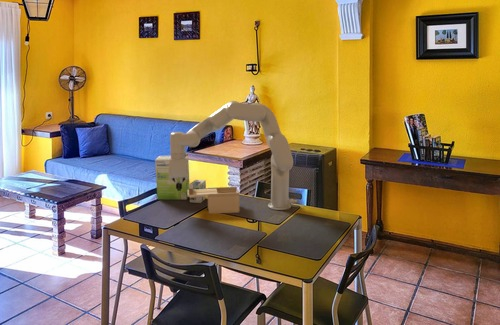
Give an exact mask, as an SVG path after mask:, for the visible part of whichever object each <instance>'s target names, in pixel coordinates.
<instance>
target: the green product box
mask: <svg viewBox="0 0 500 325" xmlns="http://www.w3.org/2000/svg"><path fill="white" fill-rule="evenodd" d="M170 158H171V155H159V156H157V157H156V158H155V159H154V163H155V179H156V195H157V200H188V199H189V197H188V195H187V190H189V184H190V178H189V179H187V180H184V181H183V182H182V189H181V191H178V190H177V189H176V183H175V182H174V181H173V180H169V179H168V177H169V159H170ZM186 158H187V161H188V172H189V173H188V175H189V176H190V167H189V165H190V163H189V155H188V156H186ZM177 180H178V183H179V181H180V178H177Z"/></svg>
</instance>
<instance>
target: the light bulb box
mask: <svg viewBox="0 0 500 325" xmlns="http://www.w3.org/2000/svg"><path fill="white" fill-rule="evenodd" d="M189 184H193V189H207V185H206V184H207V183H206V179H204V180H203V179H194V180H193V181H192V182H189ZM206 199H207V196H196V197H189V202H190V203H194V204H195V203H196V204H197V203H198V204H201V203H202V202H203V201H205V200H206Z"/></svg>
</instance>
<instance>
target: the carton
mask: <svg viewBox="0 0 500 325" xmlns="http://www.w3.org/2000/svg"><path fill="white" fill-rule="evenodd" d="M206 189H217V193H215V194H209V196H207V209H208V214H209V215H210V214H212V215H213V214H231V213H240V192H238V186H219V187H206Z"/></svg>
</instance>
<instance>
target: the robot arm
mask: <svg viewBox="0 0 500 325" xmlns="http://www.w3.org/2000/svg"><path fill="white" fill-rule="evenodd" d="M233 120H237V121H246V122H254V123H258V122H259V123H260V125H261V128H262V130H263V134H264V137H265V141H266V144H267V146H268V148H270V151H271V156H270V168H271V169H270V170H271V176H270V177H271V178H270V180H271V182H270V202H269V203H268V204H267V207H268V208H269V209H271V210H274V211H284V210H290V209H291V207H292V204H297V203H298V200H297V199H293V198H291V199H290V197H289V188H290V170H291V169H292V168H293V167H294V158H293V155H292V154H293V153H292V151H291V148H290V143H289V141H288V139H287V137H286V136H285V135H284V134H283V133H282V132H281V129H280V126H279V123H278V121H277V117H276V116H275V114H274V112H273V111H272V110H271V109H270V108H269V107H268V106H266V105H265V104H263V103H257V102H252V103H246V102H245V103H244V102H239V101H237V100H231V101H229V102H227V103H226V104H224V105H223V106H222V107H220V108H219V109H218V110H216V111H215V112H213V113H212V114H211V115H209V116H207V117H206V118H205V119H203V120H202V121H201V122H200V121H199V123H197V124H195V125H194V126H193V127H192V128H191V129H189V130H188V131H187V132H186V133H184V132H183V131H172V132H171V133H170V134H169V143H170V144H169V145H170V156H171V158H170V159H169V177H168V179H169V180H173V181H174V182H175V183H176V189H177V190H178V191H181V189H182V182H183V181H184V180H187V179H189V180H190V171H189V172H188V161H187V158H186V156H188V157H189V153H187V152H186V148H187V147H188V148H196V147H198V146H199V144H200V143H201V140H202V139H204V138H205V137H206V136H207V135H209V134H210V133H213V132H217V131H219V130H220V129H222V128H224V127H225V126H226V125H228V124H229V123H231V122H232V121H233ZM188 173H189V175H188ZM177 178H180V181H179V183H178V180H177Z"/></svg>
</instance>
